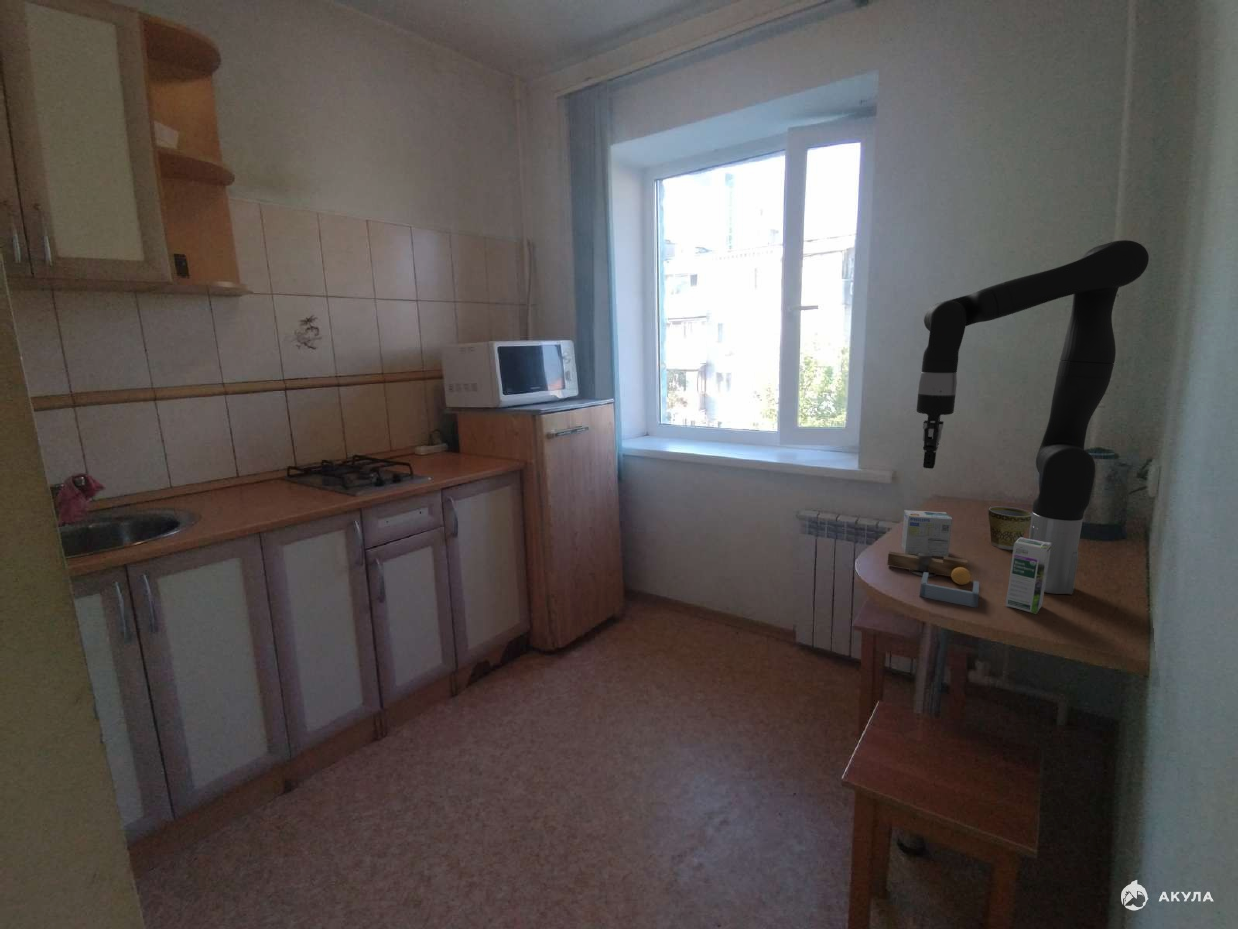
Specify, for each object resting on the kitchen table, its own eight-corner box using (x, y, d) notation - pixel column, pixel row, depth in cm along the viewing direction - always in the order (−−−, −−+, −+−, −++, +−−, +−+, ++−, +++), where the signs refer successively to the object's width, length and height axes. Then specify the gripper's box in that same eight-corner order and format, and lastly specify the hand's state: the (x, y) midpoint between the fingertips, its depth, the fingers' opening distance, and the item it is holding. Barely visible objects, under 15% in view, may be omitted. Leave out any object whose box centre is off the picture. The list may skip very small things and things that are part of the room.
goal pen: (977, 594, 130) (979, 581, 130) (977, 607, 124) (978, 594, 123) (922, 584, 136) (923, 571, 135) (919, 596, 129) (920, 583, 129)
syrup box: (1004, 606, 124) (1013, 542, 121) (1011, 598, 128) (1020, 535, 125) (1036, 615, 120) (1046, 548, 117) (1042, 606, 124) (1052, 541, 121)
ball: (970, 582, 137) (972, 566, 136) (969, 588, 133) (971, 572, 132) (950, 579, 139) (952, 563, 138) (949, 585, 135) (951, 569, 134)
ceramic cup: (1025, 554, 154) (1031, 518, 152) (982, 547, 160) (986, 512, 158) (1028, 541, 164) (1033, 507, 162) (987, 535, 170) (991, 502, 168)
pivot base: (937, 570, 144) (937, 569, 144) (936, 578, 139) (936, 577, 139) (910, 565, 147) (910, 564, 147) (908, 573, 142) (908, 572, 142)
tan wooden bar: (965, 575, 139) (967, 559, 139) (965, 579, 137) (967, 563, 136) (888, 561, 148) (890, 546, 147) (887, 565, 146) (888, 550, 145)
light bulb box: (942, 549, 159) (946, 511, 156) (949, 558, 152) (953, 518, 150) (899, 546, 161) (903, 508, 159) (904, 554, 155) (908, 515, 153)
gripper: (954, 395, 124) (945, 474, 128) (956, 390, 136) (948, 463, 139) (915, 394, 128) (907, 470, 132) (921, 389, 140) (913, 460, 143)
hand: (928, 466), depth 135 cm, fingers closed
